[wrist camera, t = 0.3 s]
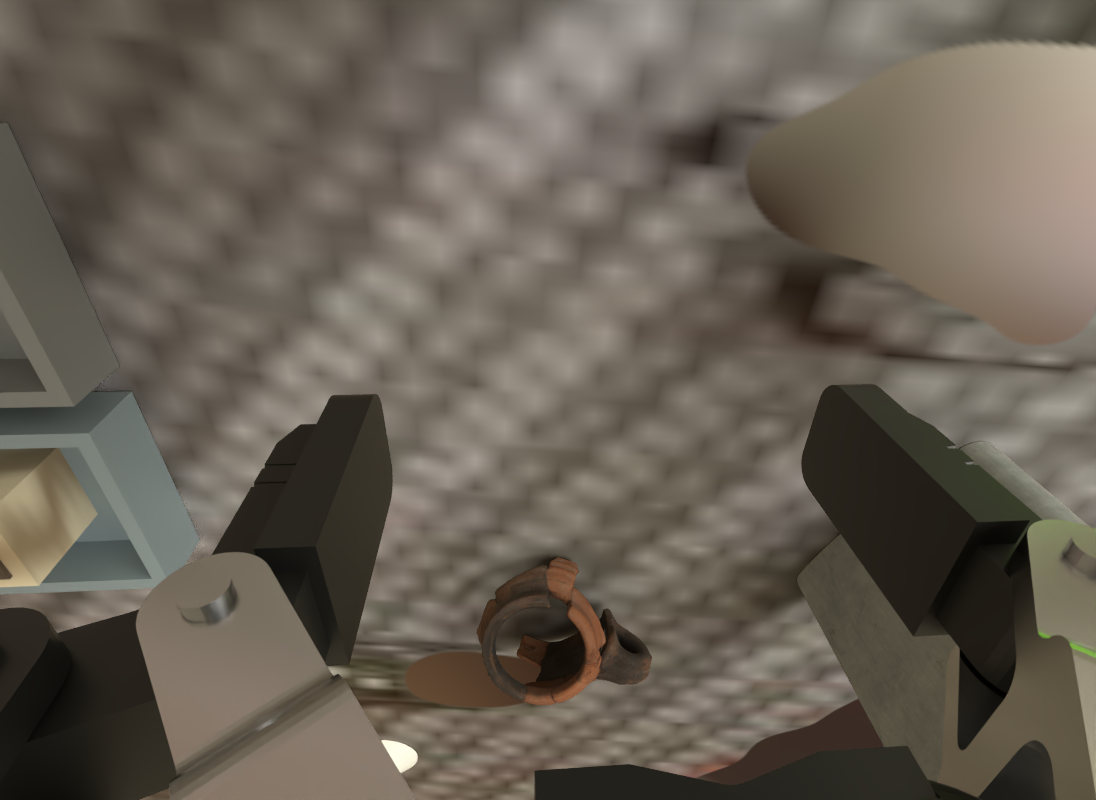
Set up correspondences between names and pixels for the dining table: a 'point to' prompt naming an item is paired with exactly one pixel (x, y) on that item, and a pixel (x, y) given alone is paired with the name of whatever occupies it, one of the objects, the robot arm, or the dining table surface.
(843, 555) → the hip flask
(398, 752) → the champagne flute
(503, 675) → the pottery mug
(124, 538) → the slate bin
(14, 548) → the letter cube
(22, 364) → the charcoal bin
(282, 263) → the dining table surface
